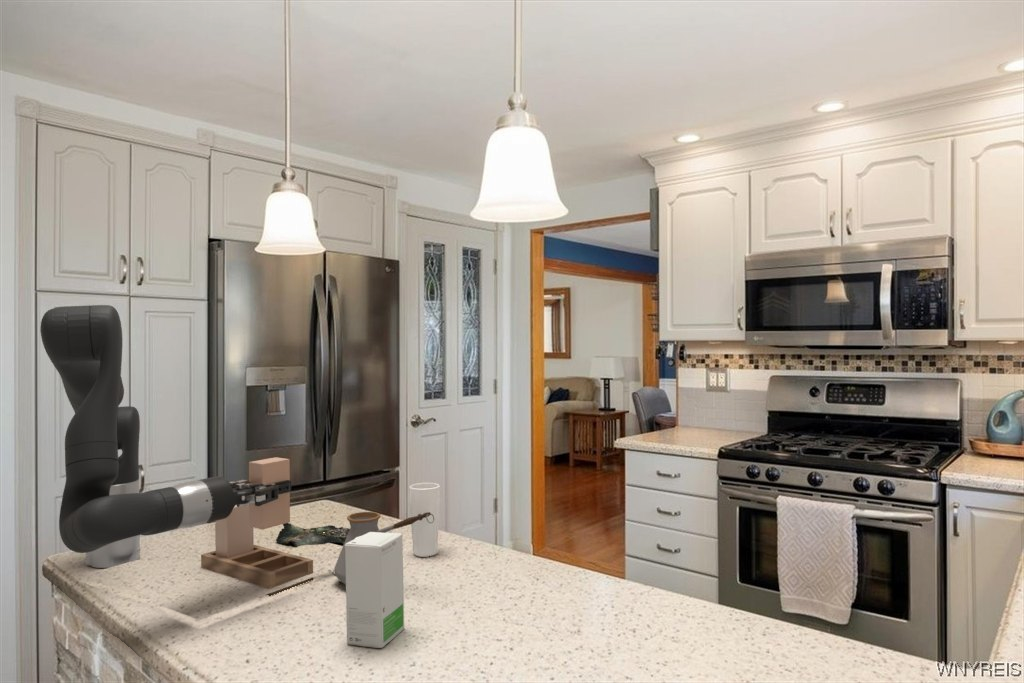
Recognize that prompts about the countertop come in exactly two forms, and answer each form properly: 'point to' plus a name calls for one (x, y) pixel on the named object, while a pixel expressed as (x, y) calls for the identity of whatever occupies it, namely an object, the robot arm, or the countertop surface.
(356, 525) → the coffee pot
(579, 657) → the countertop surface
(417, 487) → the drinking glass
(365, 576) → the skincare box
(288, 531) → the decorative rock
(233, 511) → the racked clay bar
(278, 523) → the clay bar
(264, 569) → the wooden divided tray
